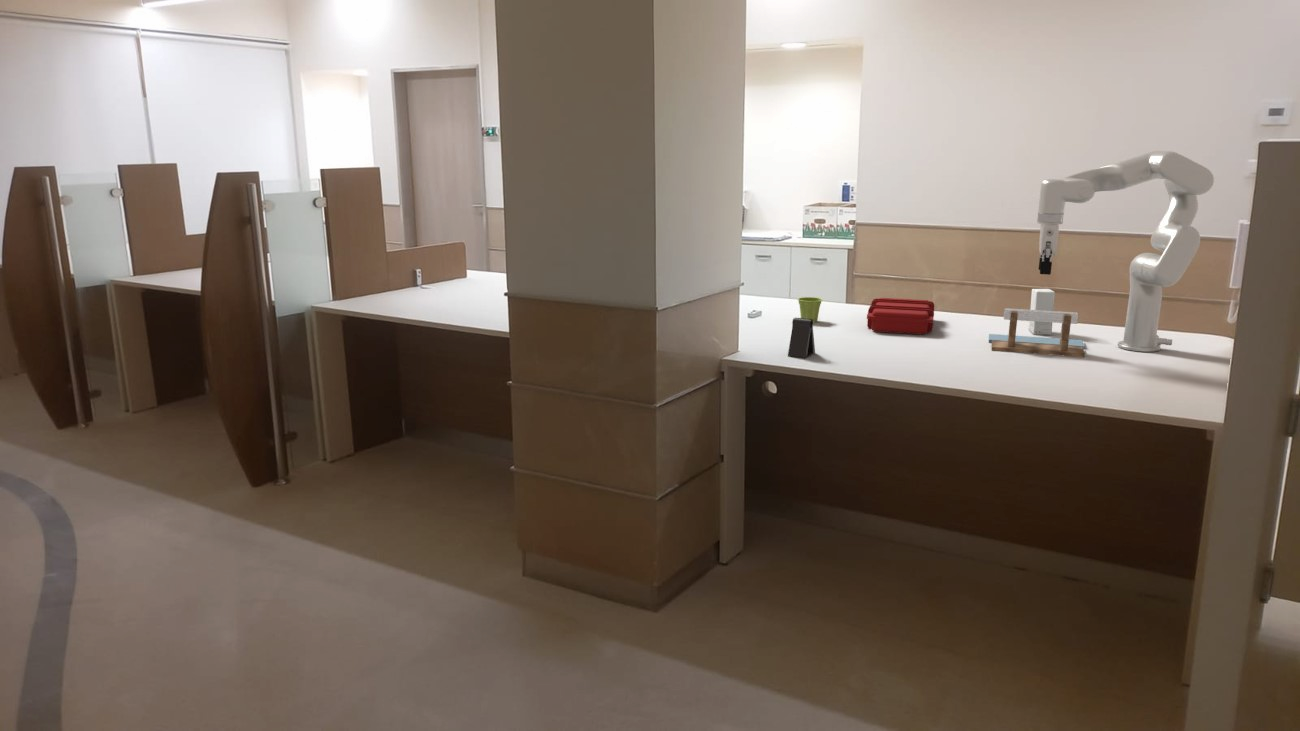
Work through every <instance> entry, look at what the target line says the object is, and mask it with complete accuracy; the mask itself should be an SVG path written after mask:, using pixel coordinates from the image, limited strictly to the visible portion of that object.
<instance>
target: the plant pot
mask: <svg viewBox="0 0 1300 731" xmlns="http://www.w3.org/2000/svg"><path fill="white" fill-rule="evenodd" d="M797 301H798V305H799V312H800V318H804V319H812V320H813V323H816V322H817V321H818V319H819V312H820V308H821V305H822V301H823V298H820V297H815V296H814V297H813V296H812V297H810V296H805V297H803V296H802V297H798V298H797Z"/></svg>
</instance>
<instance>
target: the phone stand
mask: <svg viewBox="0 0 1300 731" xmlns="http://www.w3.org/2000/svg"><path fill="white" fill-rule="evenodd" d="M791 324H792V327H791V334H790V341H789V347H788V351H787V352H788V353H787V357H791V358H798V359H807V358H809V357H811V356H812V355H814V354H816V349H815V347H816V346H815V338H814V322H813V320H812V319H804V318H801V317H793V319H792V322H791Z"/></svg>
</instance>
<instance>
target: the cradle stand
mask: <svg viewBox="0 0 1300 731" xmlns="http://www.w3.org/2000/svg"><path fill="white" fill-rule="evenodd" d="M1017 317H1018V312H1011V320H1009V326H1008V327H1009V328H1008V334H1007V335H1008V342H1005V341H992V343H991V351H995V352H996V351H997V352H1009V353H1020V352H1021V353H1022V354H1023V353H1025V354H1034V353H1036V354H1037V355H1048V354H1052V355H1051V356H1062V355H1064V357H1077V358H1079V357H1080V358H1085V356H1086V353H1085V349H1083V347H1077V346H1068V343H1069V339H1070V332H1071V315H1064V323H1061V327H1060V328H1061V330H1060V337H1059V339H1060V345H1049V344H1034V343H1020V342H1015V337H1016V336H1017V325H1018V320H1017Z"/></svg>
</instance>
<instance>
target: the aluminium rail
mask: <svg viewBox="0 0 1300 731" xmlns="http://www.w3.org/2000/svg"><path fill="white" fill-rule="evenodd" d="M1011 312H1018V317H1017V321H1021V322H1022V321H1023V322H1030V321H1037V322H1052V324H1053V323H1055V324H1058V323H1059V324H1062V323H1064V315H1071V324H1073V325H1077V324H1078V318H1079V313H1078V312H1075V311H1074V312H1073V311H1060V310H1059V311H1058V310H1057V311H1056V310H1053V311H1044V310H1030V309H1023V308H1007V307H1004V312H1003V320H1008V321H1010V320H1011Z"/></svg>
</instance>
